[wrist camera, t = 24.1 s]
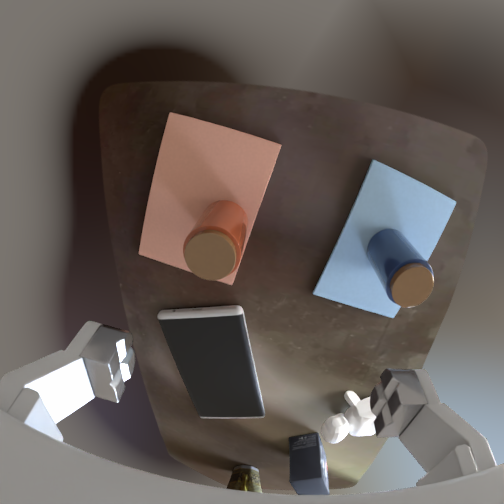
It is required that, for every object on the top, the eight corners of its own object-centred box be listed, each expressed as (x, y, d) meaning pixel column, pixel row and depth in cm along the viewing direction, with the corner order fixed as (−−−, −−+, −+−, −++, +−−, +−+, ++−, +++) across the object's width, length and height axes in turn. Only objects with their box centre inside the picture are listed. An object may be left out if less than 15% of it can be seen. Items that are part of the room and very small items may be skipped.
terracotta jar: (208, 193, 39) (187, 220, 30) (254, 208, 39) (248, 240, 30) (196, 236, 41) (174, 273, 32) (240, 250, 42) (230, 291, 32)
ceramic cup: (263, 477, 71) (261, 507, 62) (227, 474, 72) (223, 504, 63) (267, 459, 66) (265, 492, 57) (226, 455, 66) (222, 489, 57)
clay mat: (170, 112, 35) (169, 112, 34) (281, 144, 36) (281, 145, 35) (139, 252, 43) (138, 254, 43) (232, 283, 44) (232, 285, 44)
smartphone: (242, 302, 46) (241, 309, 44) (265, 412, 57) (265, 419, 55) (158, 307, 47) (155, 314, 46) (201, 412, 58) (199, 419, 57)
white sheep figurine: (381, 377, 55) (315, 400, 51) (405, 406, 48) (337, 436, 43) (370, 403, 59) (308, 425, 54) (390, 430, 51) (326, 458, 47)
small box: (327, 455, 64) (330, 496, 53) (300, 460, 66) (300, 500, 55) (319, 431, 59) (322, 478, 48) (288, 436, 60) (288, 482, 50)
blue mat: (372, 158, 36) (373, 159, 35) (455, 200, 37) (456, 202, 36) (312, 292, 44) (312, 294, 44) (392, 316, 45) (393, 318, 45)
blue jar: (378, 222, 38) (405, 255, 29) (414, 237, 39) (446, 272, 30) (359, 261, 41) (378, 303, 32) (394, 274, 41) (419, 315, 32)
